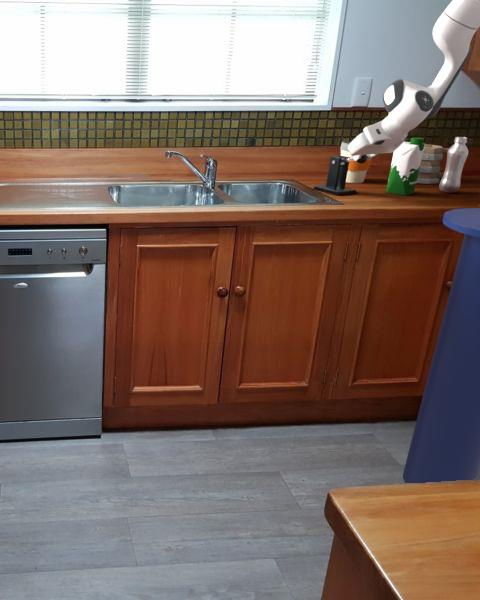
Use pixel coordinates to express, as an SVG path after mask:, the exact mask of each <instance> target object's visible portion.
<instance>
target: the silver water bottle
mask: <svg viewBox="0 0 480 600" xmlns="http://www.w3.org/2000/svg"><path fill="white" fill-rule="evenodd" d="M467 143H468V137H466V136H455V138H454V144H452V146H450V147H449V148H450V149H449V150H448V153H446V154H447V155H446V163H445V167H444V168H445V169H444V172H443V173H444V175H443V178H441V180H440V181H439V183H438V184H439V186H438V189H439V191H441V192H444V193H449V194H450V193H457V192H458V191H459V189H460V187H461V178H462V174H463V173H462V172H463V168H464V166H465V163H466V161H467V158H468V155H469V149H468V146H467V145H466V144H467Z"/></svg>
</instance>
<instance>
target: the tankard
mask: <svg viewBox="0 0 480 600" xmlns="http://www.w3.org/2000/svg"><path fill="white" fill-rule="evenodd" d="M425 144H426V143H425ZM450 148H451V147H449V148H448V147H443V146H442V145H436V144H426V146H425V149H424V152H423V155H422V159H421V164H420V169H419V173H418V178H417V182H416V184H421V185H436V184H440V178H441V179H442V178H443V175H444V172H442V171H440V170H441V165H440V164H441V163H440V162H441V161H443V157H444V154H447V153H448V150H449V149H450ZM443 153H444V154H443Z"/></svg>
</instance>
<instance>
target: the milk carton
mask: <svg viewBox="0 0 480 600" xmlns="http://www.w3.org/2000/svg"><path fill="white" fill-rule="evenodd" d="M424 140H425V138H424V137H411V138H410V141H404V142H403V143H402V144H401V145H400V146H399V147H398V148H397V149H396V150H395V151H394V152H393V154H392V159H391V164H390V168H389V169H390V170H389V174H388V175H389V176H388V179H387V186H386V193H388V194H394V195H400V196H404V197H405V196H409V195H412V194H415V191H416V187H417V183H416V182H417V178H418V173H419V169H420V164H421V159H422V155H423V152H424V149H425V146H426V143H424Z"/></svg>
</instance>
